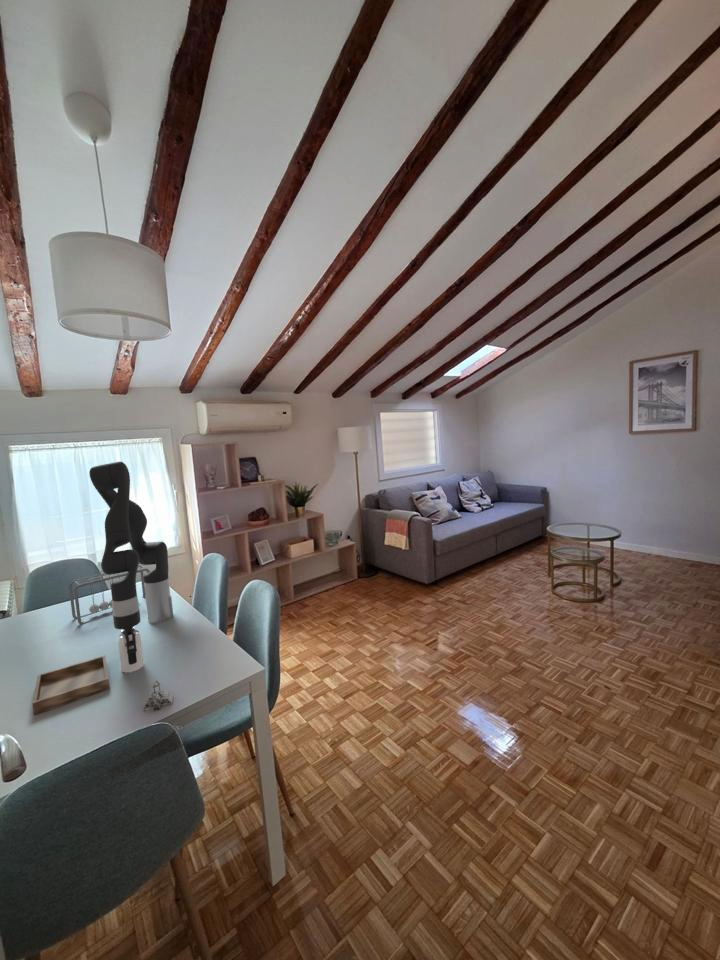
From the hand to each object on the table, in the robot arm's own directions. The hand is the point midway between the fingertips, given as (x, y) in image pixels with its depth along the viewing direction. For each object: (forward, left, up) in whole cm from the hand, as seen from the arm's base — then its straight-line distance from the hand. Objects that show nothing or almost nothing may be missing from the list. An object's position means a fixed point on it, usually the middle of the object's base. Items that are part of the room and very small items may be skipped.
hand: (131, 658), depth 132 cm
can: (0, 0, -4) cm, 4 cm away
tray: (+16, 0, -4) cm, 16 cm away
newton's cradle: (+1, -63, -4) cm, 63 cm away
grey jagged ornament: (-2, +30, -4) cm, 30 cm away
